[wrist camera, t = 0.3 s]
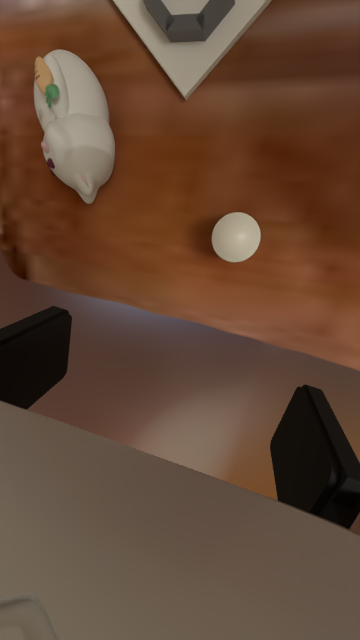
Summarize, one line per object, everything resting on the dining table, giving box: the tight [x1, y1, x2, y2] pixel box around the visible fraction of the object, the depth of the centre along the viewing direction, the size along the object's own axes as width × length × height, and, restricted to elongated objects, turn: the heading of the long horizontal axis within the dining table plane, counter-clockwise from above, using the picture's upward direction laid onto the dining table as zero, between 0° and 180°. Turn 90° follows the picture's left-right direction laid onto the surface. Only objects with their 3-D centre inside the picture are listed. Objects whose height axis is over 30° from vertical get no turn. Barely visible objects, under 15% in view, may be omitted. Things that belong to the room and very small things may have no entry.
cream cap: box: [212, 212, 260, 262], centre depth 31 cm, size 5×5×7 cm
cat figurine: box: [34, 50, 115, 204], centre depth 30 cm, size 10×8×15 cm
